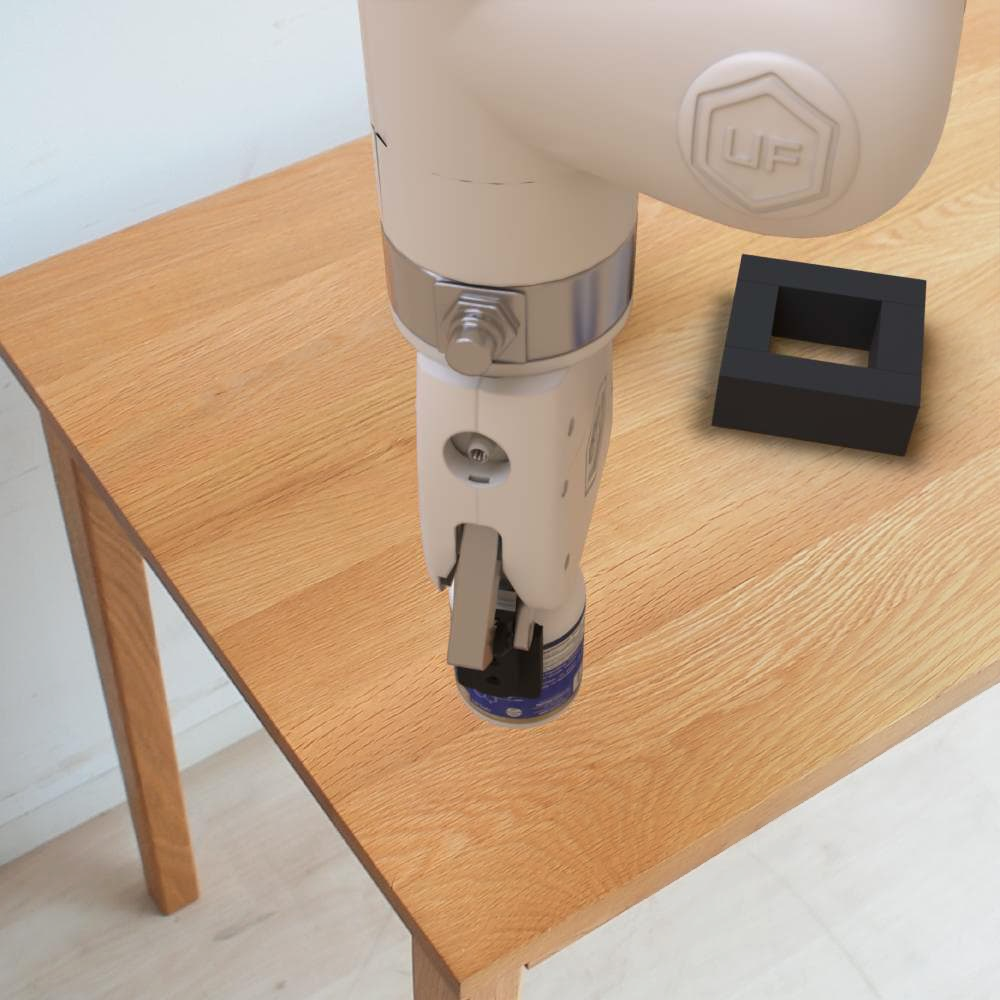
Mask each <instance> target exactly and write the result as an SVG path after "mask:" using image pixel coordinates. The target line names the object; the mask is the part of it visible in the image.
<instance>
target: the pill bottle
mask: <svg viewBox="0 0 1000 1000" xmlns="http://www.w3.org/2000/svg"><path fill="white" fill-rule="evenodd" d="M516 593H517V592H511V591H505V590H499V589H498V596H497V603H496V609H502V610H508V611H514V612H515V608H516ZM453 595H454V580H453V583H452V586H451V587H448V605H449V617H450V620H451V619H452V611H453ZM586 607H587V587H586V581H585V577H584V573H583V571H582V569H581V567H580V566H579V568H578V572H577V576H576V579H575V582H574V586H573V588H572V591H571V593H570V595H569V597H568V598H567V600H566V601H565V602H564V603H563V604H562V605H560V606H559V607H558V608H556V609H554V610H547V609H538V608H535V622H536V623H538V624H539V625H541V626H543V686H542V690H541V694H540V697H539V698H537V699H528V698H522V697H516V696H510V697H506V698H502V697H495V696H490V695H486V694H483V693H481V692H479V691H478V690H476V689H472V688H467V687H464V686H462V685H461V684H459V682H458V680H457V667H456V666H453V673H454V682H455V687H456V691H457V692H458V695H459V697H460V698H461V700H462V702H463V703H464V704H465V706H466V707H467V708H468V709H469V711H471V712H472V713H473V714H474V715H475V716H477V717H478V718H479V719H481V720H483V721H484V722H486V723H488V724H491V725H494V726H496V727H499V728H500V727H501V728H506V729H515V730H517V729H518V730H520V729H522V730H523V729H532V728H536V727H540V726H543V725H546V724H548V723H550V722H552V721H554V720H556V719H557V718H559V717H561V716H562V715H563V714H564V713H565V712H566V711H567V710H568V709H570V707H571V706H572V705H573V703H574V702H575V700H576V698H577V697H578V695H579V693H580V690H581V686H582V681H583V672H584V651H585V650H584V649H585V648H584V647H585V628H586V609H587V608H586Z"/></svg>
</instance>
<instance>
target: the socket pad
mask: <svg viewBox="0 0 1000 1000" xmlns="http://www.w3.org/2000/svg"><path fill="white" fill-rule="evenodd" d="M927 282H928V281H927V279H921V278H915V277H907V276H901V275H894V274H886V273H880V272H874V271H873V272H872V271H866V270H858V269H851V268H844V267H837V266H832V265H824V264H817V263H810V262H803V261H796V260H791V259H790V260H789V259H782V258H775V257H768V256H761V255H754V254H749V253H748V254H747V253H742V254H741V257H740V262H739V267H738V272H737V278H736V283H735V288H734V294H733V299H732V305H731V310H730V315H729V321H728V325H727V331H726V337H725V341H724V347H723V352H722V358H721V362H720V367H719V372H718V379H717V385H716V386H717V387H716V392H715V398H714V406H713V410H712V411H713V412H712V417H711V426H715V427H721V428H728V429H732V430H733V429H734V430H740V431H745V432H751V433H758V434H762V435H763V434H764V435H771V436H776V437H783V438H789V439H794V440H801V441H806V442H814V443H819V444H825V445H832V446H838V447H844V448H851V449H857V450H863V451H870V452H876V453H882V454H888V455H894V456H900V457H906V454H907V450H908V447H909V443H910V440H911V438H912V433H913V430H914V428H915V424H916V420H917V418H918V415H919V411H920V407H921V397H922V396H921V395H922V375H923V358H924V357H923V354H924V337H925V319H926V301H927ZM772 337H776V338H783V339H791V340H795V341H796V340H797V341H804V342H810V343H816V344H821V345H822V344H824V345H829V346H835V347H836V346H837V347H843V348H848V349H849V348H850V349H856V350H862V351H868V358H867V359H868V360H867V367H865V366H860V365H859V366H858V365H852V364H845V363H840V362H839V363H838V362H833V361H827V360H821V359H812V358H806V357H800V356H794V355H786V354H779V353H774V352H770V347H771V341H772Z"/></svg>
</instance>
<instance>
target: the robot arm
mask: <svg viewBox="0 0 1000 1000" xmlns="http://www.w3.org/2000/svg"><path fill="white" fill-rule="evenodd" d="M967 3H968V0H357V10H358V19H359V30H360V40H361V49H362V59H363V67H364V78H365V86H366V87H365V88H366V97H367V107H368V108H367V109H368V118H369V126H370V127H369V128H370V136H371V146H372V147H371V148H372V155H373V165H374V175H375V184H376V185H375V186H376V194H377V203H378V212H379V218H380V232H381V242H382V250H383V251H382V252H383V260H384V262H383V263H384V270H385V279H386V287H387V289H386V290H387V300H388V301H387V302H388V309H389V313H390V316H391V319H392V322H393V324H394V326H395V327H396V329H397V331H399V333H400V335H401V337H402V338H403V339H405V341H406V342H407V343H408V344H409V345H411V346H412V347H413V348H414V349H415V350H416V373H415V375H416V377H415V378H416V379H415V389H416V390H415V403H414V410H415V422H416V423H415V426H416V429H415V430H416V433H415V434H416V470H417V471H416V472H417V473H416V474H417V475H416V476H417V498H418V512H419V513H418V515H419V527H420V537H421V545H422V553H423V558H424V559H423V560H424V563H425V568H426V572H427V575H428V577H429V580H430V581H431V582H432V584H433V585H434V586H435V588H436V589H437V590H438V591H439V592H441V593H443V592H444V591H445V590H446V588H447V587H448V588H449V587H451V586H452V583H453V580H454V595H453V611H452V619H450V628H449V635H448V642H447V651H446V664H447V665H448V666H453V667H454V666H456V667H457V680H458V682H459V684H461V685H462V686H464V687H467V688H472V689H476V690H478V691H479V692H481V693H483V694H486V695H490V696H495V697H502V698H506V697H510V696H516V697H522V698H528V699H537V698H539V697H540V694H541V690H542V686H543V626H541V625H539V624H538V623H536V622H535V608H538V609H547V610H554V609H556V608H558V607H559V606H560V605H562V604H563V603H564V602H565V601H566V600H567V598H568V597H569V595H570V593H571V591H572V588H573V586H574V582H575V579H576V576H577V572H578V568H579V567H580V565H581V560H582V556H583V553H584V549H585V545H586V541H587V538H588V534H589V529H590V526H591V522H592V519H593V514H594V511H595V506H596V501H597V498H598V494H599V489H600V485H601V481H602V478H603V474H604V469H605V465H606V460H607V456H608V451H609V447H610V442H611V435H612V430H613V429H612V428H613V418H614V417H613V415H614V387H613V386H614V383H613V382H614V379H613V378H614V377H613V376H614V373H613V371H614V368H613V365H614V364H613V363H614V362H613V359H614V357H613V356H614V355H613V354H614V353H613V341H614V339H615V338H616V337H617V336H618V335H619V334H620V333H621V332H622V330H623V328H624V327H625V325H626V323H627V321H628V320H629V317H630V316H631V312H632V308H633V304H634V303H633V302H634V286H635V275H636V274H635V272H636V258H637V257H636V256H637V240H638V239H637V238H638V224H639V223H638V222H639V209H638V208H639V197H640V194H642V195H645V196H647V197H648V198H651V199H654V200H656V201H658V202H661V203H663V204H666V205H669V206H670V207H673V208H676V209H678V210H682V211H685V212H686V213H689V214H692V215H694V216H697V217H700V218H702V219H705V220H708V221H711V222H713V223H717V224H720V225H723V226H726V227H728V228H732V229H736V230H741V231H744V232H748V233H752V234H756V235H761V236H766V237H775V238H776V237H778V238H790V239H800V240H801V239H814V238H815V239H816V238H827V237H830V236H834V235H839V234H843V233H847V232H851V231H853V230H855V229H858V228H861V227H863V226H865V225H868V224H869V223H872V222H874V221H876V220H877V219H879V218H880V217H882V216H883V215H885V214H886V213H887V212H889V211H891V210H892V209H894V208H895V207H896V206H897V205H898V204H899V203H900V202H902V200H903V199H904V198H905V197H906V196H908V195H909V193H910V192H911V191H912V190H913V189H914V188H915V186H916V185H917V183H918V182H919V181H920V179H921V178H922V177H923V175H924V174H925V172H926V170H927V169H928V168H929V166H930V164H931V161H932V160H933V157H934V155H935V153H936V152H937V149H938V147H939V143H940V141H941V138H942V136H943V132H944V130H945V125H946V121H947V118H948V114H949V111H950V107H951V100H952V94H953V90H954V89H953V87H954V83H955V76H956V71H957V65H958V64H957V63H958V57H959V51H960V47H961V39H962V33H963V28H964V18H965V13H966V8H967ZM498 589H499V590H505V591H511V592H517V593H516V608H515V612H514V611H508V610H502V609H496V603H497V596H498Z"/></svg>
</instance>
